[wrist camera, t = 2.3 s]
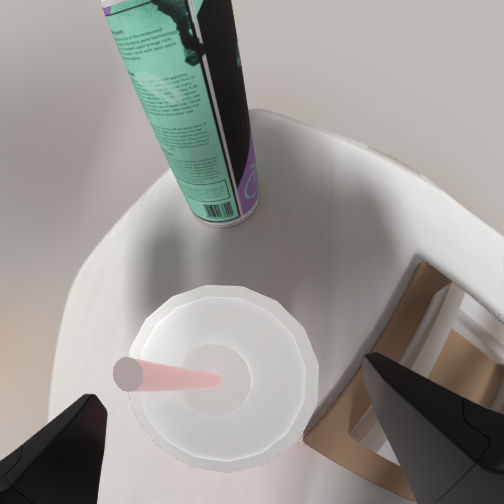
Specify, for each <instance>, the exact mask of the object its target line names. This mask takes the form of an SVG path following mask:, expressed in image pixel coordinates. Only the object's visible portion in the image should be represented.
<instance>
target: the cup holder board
mask: <svg viewBox="0 0 504 504" xmlns="http://www.w3.org/2000/svg"><path fill="white" fill-rule="evenodd" d="M374 351H377V352H379V353H381V354H383V355H385V356H387V357H388V358H390V359H392V360H394V361H396V362H398V363H400V364H401V365H403V366H405V367H407V368H409V369H411V370H413V371H415V372H416V373H418V374H420V375H422V376H424V377H426V378H428V379H430V380H432V381H434V382H435V383H437V384H439V385H441V386H443V387H445V388H447V389H449V390H451V391H453V392H455V393H457V394H459V395H461V396H462V397H465V398H467V399H469V400H471V401H473V402H475V403H477V404H480V405H482V406H484V407H486V408H489V409H492V410H494V411H497V412H500V413H503V414H504V325H503V324H502V323H501V322H500V321H499V320H498V319H497V318H496V317H495V316H493V315H492V314H491V313H490V312H489V311H488V310H486V309H485V308H484V307H483V306H482V305H481V304H479V303H478V302H477V301H476V300H475V299H473V298H472V297H471V296H470V295H469V294H467V293H466V292H465V291H464V290H462V289H461V288H460V287H459V286H457V285H456V284H455V283H453V282H452V281H451V280H449V279H448V278H447V277H446V276H444V275H443V274H442V273H440V272H439V271H438V270H436V269H435V268H434V267H432V266H431V265H429V264H428V263H427V262H425V261H424V260H423V261H422V262H421V263H420V264H419V265H418V267H417V269H416V271H415V273H414V275H413V277H412V279H411V281H410V283H409V285H408V287H407V289H406V291H405V293H404V295H403V297H402V299H401V301H400V302H399V304H398V306H397V308H396V310H395V312H394V313H393V315H392V317H391V319H390V320H389V322H388V324H387V325H386V327H385V329H384V331H383V332H382V334H381V335H380V337H379V339H378V340H377V342H376V344H375V345H374V347H373V348H372V350H371V351H370V353H371V352H374ZM362 370H363V363H362V365H361V366H360V368H359V369H358V371H357V372H356V374H355V375H354V376H353V378H352V379H351V381H350V382H349V383H348V385H347V386H346V388H345V389H344V390H343V392H342V393H341V394H340V396H339V397H338V398H337V399H336V401H335V402H334V403H333V405H332V406H331V407H330V408H329V410H328V411H327V412H326V413H325V415H324V416H323V417H322V418H321V419H320V421H319V422H318V423H317V424H316V425H315V427H314V428H313V429H312V430H311V431H310V432H309V433H308V435H307V436H306V437H305V438H304V439H303V441H304V443H305V444H307V445H308V446H310V447H311V448H313V449H314V450H316V451H318V452H319V453H321V454H322V455H324V456H326V457H327V458H329V459H331V460H332V461H334V462H336V463H337V464H339V465H341V466H343V467H344V468H346V469H348V470H350V471H351V472H353V473H355V474H357V475H359V476H361V477H363V478H364V479H366V480H368V481H370V482H372V483H374V484H376V485H378V486H380V487H382V488H384V489H387V490H389V491H391V492H393V493H395V494H397V495H400V496H402V497H404V498H407V499H409V500H411V501H414V502H416V503H417V501H416V499H415V497H414V495H413V492H412V490H411V488H410V486H409V484H408V481H407V479H406V477H405V475H404V473H403V471H402V468H401V466H400V464H399V462H398V460H397V458H396V456H395V454H394V452H393V450H392V447H391V445H390V443H389V441H388V439H387V437H386V435H385V433H384V431H383V429H382V427H381V425H380V423H379V421H378V419H377V416H376V414H375V411H374V408H373V405H372V402H371V399H370V396H369V394H368V391H367V388H366V385H365V383H364V380H363V375H362Z"/></svg>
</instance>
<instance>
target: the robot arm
mask: <svg viewBox="0 0 504 504" xmlns="http://www.w3.org/2000/svg"><path fill="white" fill-rule="evenodd" d="M362 375H363V380H364V383H365V385H366V388H367V391H368V394H369V396H370V399H371V402H372V405H373V408H374V411H375V414H376V416H377V419H378V421H379V423H380V425H381V427H382V429H383V431H384V433H385V435H386V437H387V439H388V441H389V443H390V445H391V447H392V450H393V452H394V454H395V456H396V458H397V460H398V462H399V464H400V466H401V468H402V471H403V473H404V475H405V477H406V479H407V481H408V484H409V486H410V488H411V490H412V492H413V495H414V497H415V499H416V501H417V503H418V504H504V414H503V413H500V412H497V411H494V410H492V409H489V408H486V407H484V406H482V405H480V404H477V403H475V402H473V401H471V400H469V399H467V398H465V397H462V396H461V395H459V394H457V393H455V392H453V391H451V390H449V389H447V388H445V387H443V386H441V385H439V384H437V383H435V382H434V381H432V380H430V379H428V378H426V377H424V376H422V375H420V374H418V373H416V372H415V371H413V370H411V369H409V368H407V367H405V366H403V365H401V364H400V363H398V362H396V361H394V360H392V359H390V358H388V357H387V356H385V355H383V354H381V353H379V352H377V351H374V352H371V353H368V354H365V355H364V357H363V370H362ZM106 425H107V410H106V408H105V407H104V405H103V404H102V403H101V401H100V400H99V399H98V397H97V396H96V395H95V394H84V395H83V396H82V397H80V398H79V399H78V400H77V401H75V402H74V403H73V404H72V405H70V406H69V407H68V408H67V409H66V410H64V411H63V412H62V413H61V414H59V415H58V416H57V417H56V418H54V419H53V420H52V421H51V422H49V423H48V424H47V425H46V426H45V427H43V428H42V429H41V430H40V431H38V432H37V433H36V434H35V435H33V437H31V438H30V439H29V440H27V441H26V442H25V443H24V444H23V445H21V446H20V447H19V448H17V449H16V450H15V451H13V452H12V453H11V454H9V455H8V456H7V457H5V458H4V459H2V460H1V461H0V504H97V499H98V490H99V482H100V475H101V468H102V462H103V456H104V449H105V437H106Z"/></svg>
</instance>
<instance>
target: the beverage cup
mask: <svg viewBox="0 0 504 504" xmlns="http://www.w3.org/2000/svg"><path fill="white" fill-rule="evenodd" d="M113 376H114V381H115V382H116V384H117V386H118V387H119V388H121V389H122V390H123V391H127V392H128V394H129V397H130V401H131V405H132V408H133V412H134V415H135V418H136V419H137V421H138V422H139V423H140V425H141V426H142V427H143V429H144V430H145V431H146V433H147V434H148V435H149V437H150V438H151V439H152V441H153V442H154V443H155V444H156V446H157V447H158V448H160V449H162V450H163V451H165V452H166V453H168V454H169V455H171V456H173V457H174V458H176V459H178V460H179V461H181V462H183V463H185V464H186V465H188V466H190V467H194V468H200V469H205V470H212V471H218V472H226V473H231V472H236V471H240V470H245V469H249V468H253V467H257V466H261V465H264V464H268V463H269V462H271V461H272V460H273V459H275V458H276V457H277V456H279V455H280V454H281V453H283V452H284V451H285V450H286V449H288V448H289V447H290V446H292V445H293V444H294V443H295V442H297V441H298V440H299V439H300V437H301V435H302V433H303V431H304V430H305V428H306V426H307V424H308V422H309V420H310V418H311V416H312V414H313V412H314V410H315V408H316V406H317V404H318V383H319V363H318V361H317V358H316V356H315V353H314V351H313V348H312V346H311V343H310V341H309V338H308V336H307V333H306V331H305V329H304V327H303V326H302V325H301V324H300V323H299V322H298V321H297V320H296V319H295V318H294V317H293V316H292V315H291V314H290V313H289V312H288V311H287V310H286V309H285V308H284V307H283V306H282V305H281V304H280V303H279V302H278V301H276V300H274V299H271V298H269V297H266V296H264V295H262V294H259V293H257V292H255V291H253V290H250V289H248V288H246V287H243V286H223V285H204V286H201V287H198V288H195V289H192V290H189V291H187V292H184V293H181V294H178V295H175V296H172V297H171V298H170V299H169V300H167V301H166V302H165V303H164V304H163V305H162V306H160V307H159V308H158V309H157V310H156V311H154V312H153V313H152V314H151V315H150V316H149V317H147V318H146V320H145V321H144V323H143V325H142V327H141V329H140V331H139V332H138V334H137V336H136V338H135V340H134V342H133V344H132V346H131V348H130V351H129V357H124V358H121V359H120V360H118V361H117V362H116V364H115V366H114V370H113Z"/></svg>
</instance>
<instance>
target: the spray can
mask: <svg viewBox="0 0 504 504" xmlns="http://www.w3.org/2000/svg"><path fill="white" fill-rule="evenodd" d="M100 3H101V6H102V8H103V11H104V14H105V16H106V18H107V21H108V24H109V26H110V29H111V32H112V34H113V37H114V39H115V42H116V44H117V47H118V49H119V52H120V54H121V57H122V59H123V61H124V64H125V66H126V69H127V71H128V73H129V76H130V78H131V80H132V83H133V85H134V87H135V90H136V92H137V94H138V97H139V99H140V101H141V104H142V106H143V108H144V110H145V113H146V115H147V117H148V119H149V121H150V124H151V126H152V128H153V130H154V133H155V135H156V137H157V139H158V141H159V144H160V145H161V148H162V150H163V152H164V154H165V156H166V158H167V161H168V163H169V165H170V167H171V169H172V171H173V173H174V176H175V178H176V180H177V182H178V184H179V186H180V188H181V190H182V192H183V194H184V196H185V198H186V200H187V202H188V204H189V207H190V209H191V211H192V212H193V214H194V215H195V217H196V218H197V219H198V220H199V221H200V222H201V223H203V224H205V225H207V226H210V227H216V228H225V227H230V226H234V225H236V224H239V223H241V222H243V221H244V220H246V219H247V218H248V217H249V216H250V215H251V214H252V213H253V212H254V211H255V209H256V207H257V205H258V202H259V186H258V178H257V171H256V164H255V156H254V149H253V142H252V134H251V127H250V120H249V113H248V106H247V100H246V93H245V86H244V80H243V74H242V66H241V59H240V53H239V47H238V40H237V34H236V27H235V21H234V15H233V10H232V3H231V0H101V2H100Z"/></svg>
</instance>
